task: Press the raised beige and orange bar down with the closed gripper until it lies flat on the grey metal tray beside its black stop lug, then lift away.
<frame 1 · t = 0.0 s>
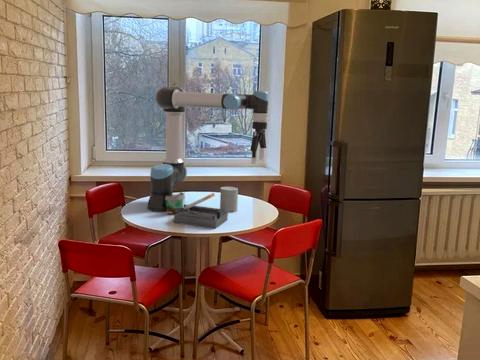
hand: (257, 162, 249), 28 cm above the table, tool pointing down, fingers open, 13 cm apart
concrete plant pot: (228, 210, 259), on the table
beige and orange bar: (197, 202, 235), point 9 cm above the table, hinge at 30.0°
food container: (177, 213, 249), on the table
grey metal tray: (201, 221, 237), on the table
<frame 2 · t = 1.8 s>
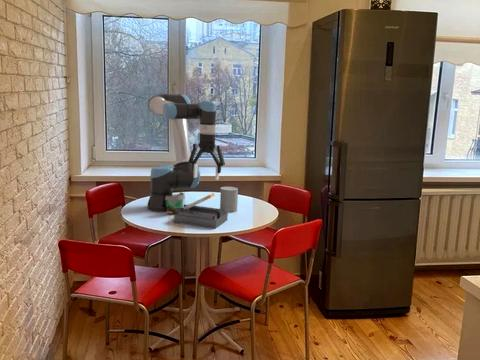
hand: (206, 178, 232), 22 cm above the table, tool pointing down, fingers open, 11 cm apart
nothing on the table moved.
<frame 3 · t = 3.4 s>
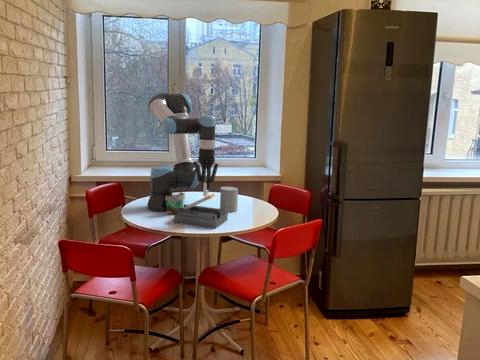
hand: (205, 195, 233), 13 cm above the table, tool pointing down, fingers closed
beige and orange bar: (197, 202, 235), point 9 cm above the table, hinge at 29.2°, touching gripper
everything else where it was.
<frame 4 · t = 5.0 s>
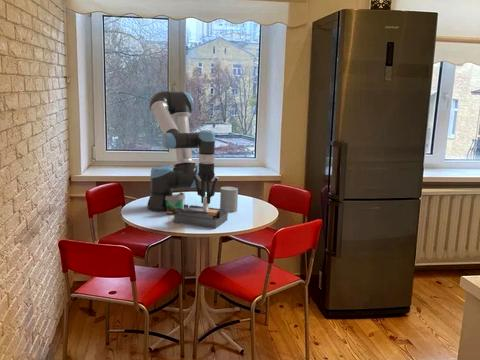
hand: (205, 209, 234), 6 cm above the table, tool pointing down, fingers closed, pressing on beige and orange bar
beige and orange bar: (200, 211, 236), point 5 cm above the table, hinge at 1.7°, touching gripper
everything else where it was.
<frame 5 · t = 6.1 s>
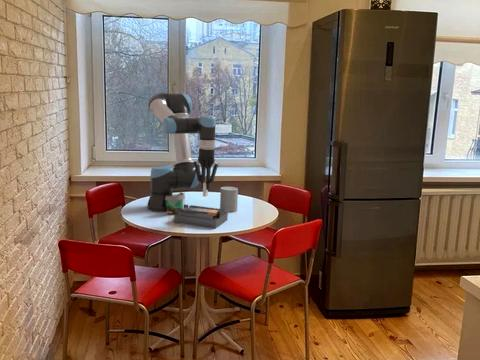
hand: (205, 195, 234), 13 cm above the table, tool pointing down, fingers closed
beige and orange bar: (200, 211, 236), point 5 cm above the table, hinge at 1.4°
everything else where it was.
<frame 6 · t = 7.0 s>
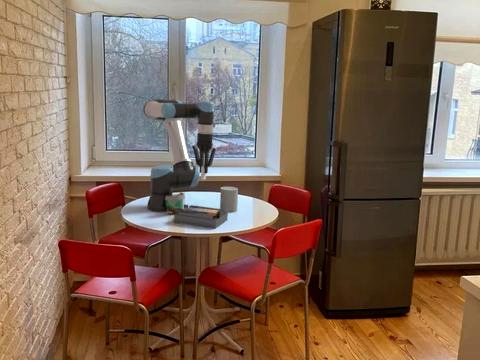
hand: (203, 179, 240), 20 cm above the table, tool pointing down, fingers closed
nothing on the table moved.
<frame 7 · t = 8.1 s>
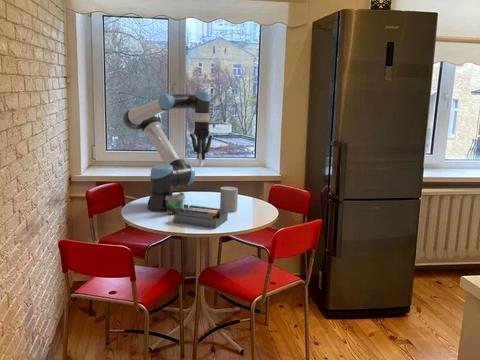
hand: (200, 165, 252), 24 cm above the table, tool pointing down, fingers closed
nothing on the table moved.
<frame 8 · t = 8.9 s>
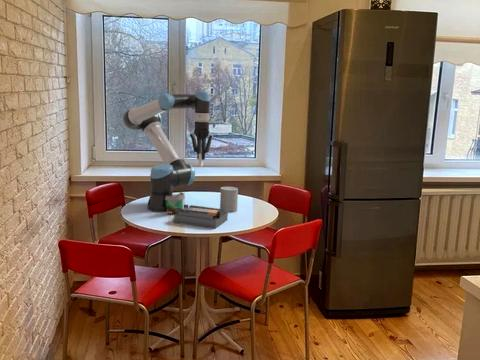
hand: (200, 165, 252), 24 cm above the table, tool pointing down, fingers closed
nothing on the table moved.
at the end: beige and orange bar at +1° (first picture: +30°) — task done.
